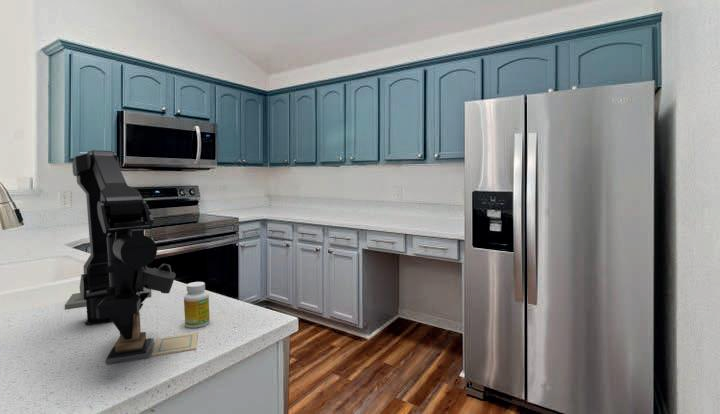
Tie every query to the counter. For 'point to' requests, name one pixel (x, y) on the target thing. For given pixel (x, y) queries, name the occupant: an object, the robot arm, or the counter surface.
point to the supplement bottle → (196, 305)
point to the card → (175, 344)
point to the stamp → (132, 339)
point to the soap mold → (78, 302)
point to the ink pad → (130, 353)
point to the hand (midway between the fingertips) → (130, 335)
